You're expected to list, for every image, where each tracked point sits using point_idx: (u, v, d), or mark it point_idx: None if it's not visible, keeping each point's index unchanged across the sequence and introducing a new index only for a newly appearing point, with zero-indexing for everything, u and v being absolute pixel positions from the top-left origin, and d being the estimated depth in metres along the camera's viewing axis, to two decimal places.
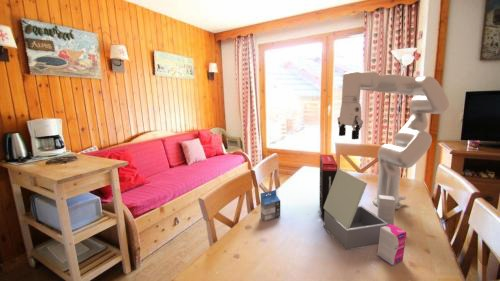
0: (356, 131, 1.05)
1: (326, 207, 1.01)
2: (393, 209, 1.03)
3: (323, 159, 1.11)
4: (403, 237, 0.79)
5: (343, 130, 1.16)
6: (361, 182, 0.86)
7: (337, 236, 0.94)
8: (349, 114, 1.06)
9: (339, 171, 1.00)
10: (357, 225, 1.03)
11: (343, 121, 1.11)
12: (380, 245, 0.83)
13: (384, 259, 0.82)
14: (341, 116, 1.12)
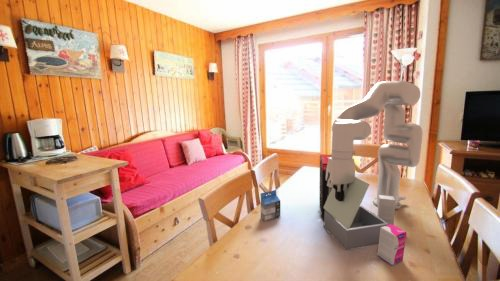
0: None
1: (326, 207, 1.01)
2: (393, 209, 1.03)
3: (323, 159, 1.11)
4: (403, 237, 0.79)
5: None
6: (364, 183, 0.86)
7: (337, 236, 0.94)
8: (351, 171, 0.90)
9: None
10: (357, 225, 1.03)
11: (340, 181, 0.90)
12: (380, 245, 0.83)
13: (384, 259, 0.82)
14: (338, 175, 0.89)
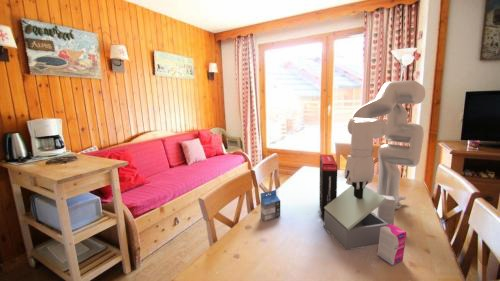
0: None
1: (328, 207, 1.01)
2: (393, 209, 1.03)
3: (323, 159, 1.11)
4: (403, 237, 0.79)
5: None
6: (381, 196, 0.89)
7: (337, 236, 0.94)
8: (371, 169, 0.91)
9: None
10: (357, 225, 1.03)
11: (360, 178, 0.91)
12: (380, 245, 0.83)
13: (384, 259, 0.82)
14: (358, 173, 0.90)
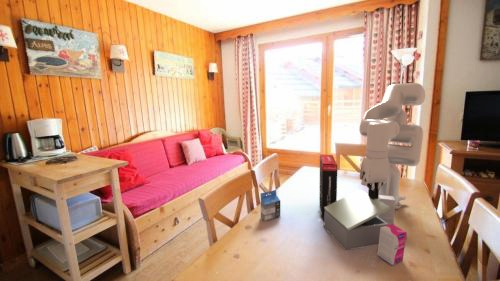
0: None
1: (328, 208, 1.01)
2: (393, 209, 1.03)
3: (323, 159, 1.11)
4: (403, 237, 0.79)
5: None
6: (385, 205, 0.90)
7: (337, 236, 0.94)
8: (386, 170, 0.93)
9: (360, 191, 1.04)
10: None
11: (375, 179, 0.93)
12: (380, 245, 0.83)
13: (384, 259, 0.82)
14: (373, 174, 0.92)
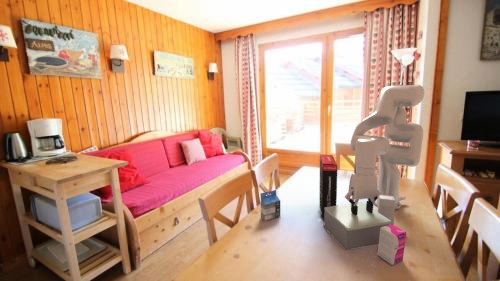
0: None
1: (329, 209, 1.01)
2: (393, 209, 1.03)
3: (323, 159, 1.11)
4: (403, 237, 0.79)
5: None
6: (387, 219, 0.91)
7: (337, 236, 0.94)
8: (374, 186, 0.93)
9: (362, 203, 1.05)
10: None
11: (363, 196, 0.93)
12: (380, 245, 0.83)
13: (384, 259, 0.82)
14: (361, 190, 0.92)
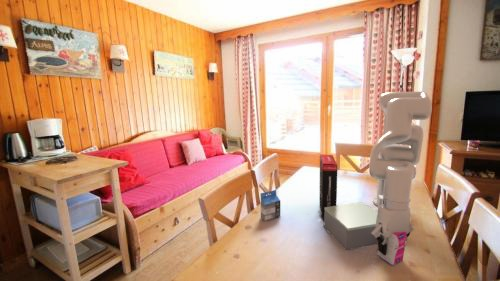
0: None
1: (329, 209, 1.01)
2: None
3: (323, 159, 1.11)
4: (403, 237, 0.79)
5: None
6: None
7: (337, 236, 0.94)
8: (407, 222, 0.79)
9: (362, 203, 1.05)
10: None
11: None
12: None
13: (384, 259, 0.82)
14: (392, 227, 0.78)
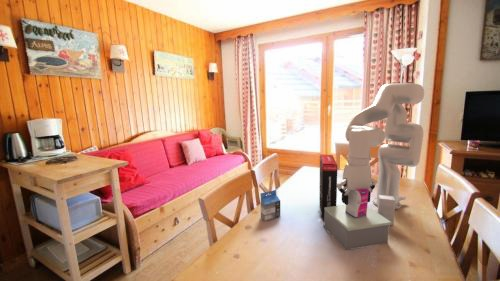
0: None
1: (329, 209, 1.01)
2: (393, 209, 1.03)
3: (323, 159, 1.11)
4: (365, 193, 0.93)
5: None
6: (387, 220, 0.92)
7: (337, 236, 0.94)
8: (368, 177, 0.92)
9: None
10: None
11: (357, 186, 0.92)
12: None
13: (350, 213, 0.96)
14: (355, 181, 0.91)
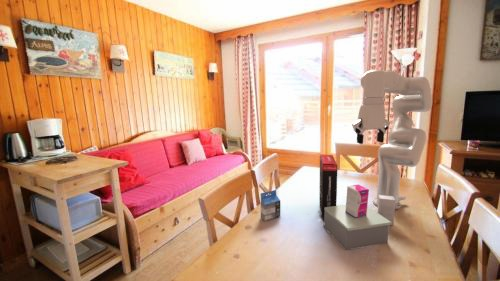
0: None
1: (329, 209, 1.01)
2: (393, 209, 1.03)
3: (323, 159, 1.11)
4: (365, 193, 0.93)
5: None
6: (387, 220, 0.92)
7: (337, 236, 0.94)
8: (382, 116, 0.98)
9: None
10: None
11: (372, 126, 0.98)
12: (347, 202, 0.97)
13: (350, 213, 0.96)
14: (370, 120, 0.97)
